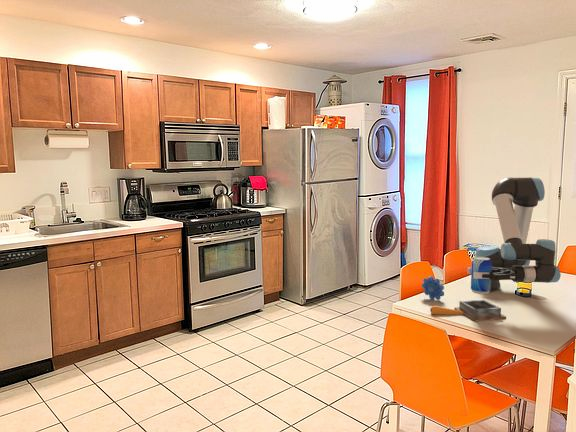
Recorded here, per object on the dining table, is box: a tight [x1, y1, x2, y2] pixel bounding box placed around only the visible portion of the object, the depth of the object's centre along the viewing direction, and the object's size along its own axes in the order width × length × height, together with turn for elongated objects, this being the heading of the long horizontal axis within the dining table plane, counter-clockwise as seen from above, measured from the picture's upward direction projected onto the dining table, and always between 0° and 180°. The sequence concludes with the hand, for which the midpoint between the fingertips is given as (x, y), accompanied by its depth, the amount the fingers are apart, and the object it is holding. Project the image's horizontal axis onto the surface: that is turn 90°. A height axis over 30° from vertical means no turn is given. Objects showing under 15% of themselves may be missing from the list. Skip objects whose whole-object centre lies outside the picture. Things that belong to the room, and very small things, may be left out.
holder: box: [453, 299, 507, 322], centre depth 208 cm, size 16×16×4 cm
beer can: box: [470, 257, 492, 295], centre depth 205 cm, size 8×8×16 cm
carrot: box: [429, 305, 464, 316], centre depth 208 cm, size 20×4×4 cm, turn 87°
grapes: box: [421, 275, 445, 301], centre depth 229 cm, size 12×7×12 cm, turn 55°
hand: (470, 273), depth 206 cm, fingers closed on beer can, 8 cm apart
